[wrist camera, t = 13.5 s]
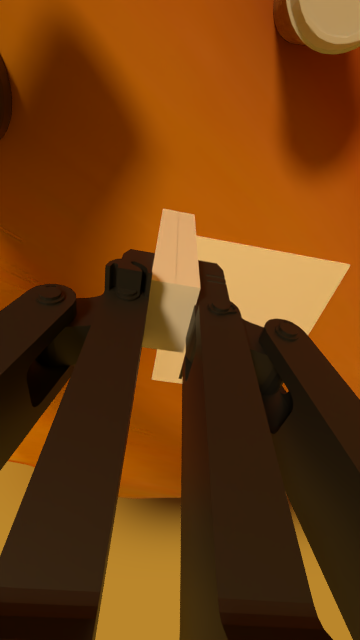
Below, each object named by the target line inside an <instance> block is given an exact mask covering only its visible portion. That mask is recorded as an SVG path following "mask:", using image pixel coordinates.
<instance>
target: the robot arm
mask: <svg viewBox="0 0 360 640" xmlns="http://www.w3.org/2000/svg"><path fill="white" fill-rule="evenodd" d="M11 111H12V96H11V88H10V83H9V79H8V75H7V72H6V69H5V66H4V63H3V61H2V58H1V56H0V139H1V138H2V137H3V135H4V134H5V132H6V130H7V128H8V125H9V122H10V118H11ZM185 344H186V353H185V357H184V360H183V364H182V368H181V371H180V375H179V378H178V379H182V477H181V584H180V585H181V586H180V589H181V590H180V640H333V639H332V638H331V637H330V636H329V635H328V633H327V632H326V631H325V630H324V628H323V626H322V625H321V622H320V621H319V619H318V616H317V613H316V610H315V607H314V604H313V600H312V596H311V592H310V588H309V584H308V580H307V576H306V573H305V568H304V564H303V560H302V556H301V552H300V548H299V544H298V540H297V536H296V532H295V528H294V524H293V520H292V516H291V512H290V509H289V504H288V500H287V496H288V498H289V500H290V502H291V505H292V507H293V509H294V511H295V513H296V515H297V518H298V520H299V522H300V524H301V526H302V529H303V531H304V533H305V535H306V537H307V540H308V542H309V544H310V546H311V548H312V550H313V553H314V555H315V557H316V559H317V561H318V564H319V566H320V568H321V570H322V573H323V575H324V577H325V579H326V581H327V584H328V586H329V588H330V590H331V592H332V594H333V597H334V599H335V601H336V603H337V605H338V608H339V610H340V612H341V614H342V616H343V619H344V621H345V623H346V625H347V627H348V630H349V631H350V634H351V636H352V638H353V640H360V400H359V398H358V397H357V396H356V395H355V393H354V392H353V391H352V390H351V388H350V387H349V386H348V385H347V383H346V382H345V381H344V380H343V379H342V377H341V376H340V375H339V374H338V372H337V371H336V370H335V369H334V367H333V366H332V365H331V364H330V362H329V361H328V360H327V359H326V357H325V356H324V355H323V354H322V353H321V351H320V350H319V349H318V348H317V346H316V345H315V344H314V343H313V341H312V340H311V339H310V338H309V336H308V335H307V334H306V333H305V332H304V331H303V330H302V329H301V328H300V327H299V326H297V325H295V324H294V323H293V322H290V321H288V320H284V319H277V318H276V319H270V320H268V321H267V322H266V323H265V325H264V327H261V326H259V325H256V324H253V323H251V322H248V321H246V320H244V319H243V318H242V317H241V313H240V310H239V309H238V307H237V306H236V305H235V304H234V303H233V302H231V301H230V299H229V294H228V290H227V285H226V281H225V276H224V272H223V270H222V269H221V267H220V266H219V265H218V264H217V263H211V262H206V261H200V260H198V252H197V240H196V228H195V216H194V215H193V214H188V213H183V212H178V211H173V210H168V209H163V212H162V218H161V223H160V229H159V235H158V240H157V246H156V251H155V253H150V252H144V251H138V250H133V249H130V250H129V251H127V252H126V253H124V254H123V257H122V259H115V260H112V261H110V262H109V263H108V264H107V265H106V268H105V291H104V294H103V295H101V296H97V297H92V298H76V294H75V292H74V291H73V290H72V289H70V288H68V287H66V286H63V285H58V284H44V285H40V286H36V287H34V288H32V289H30V290H28V291H27V292H26V293H24V294H23V295H22V296H20V297H19V298H17V299H16V300H15V301H13V302H12V303H11V304H9V305H8V306H7V307H5V308H4V309H3V310H1V311H0V470H1V469H2V467H3V466H4V465H5V463H6V462H7V461H8V459H9V458H10V457H11V455H12V454H13V453H14V451H15V450H16V449H17V447H18V446H19V445H20V443H21V442H22V441H23V439H24V438H25V437H26V435H27V434H28V433H29V431H30V430H31V429H32V427H33V426H34V425H35V423H36V422H37V421H38V419H39V418H40V417H41V415H42V414H43V413H44V411H45V410H46V409H47V407H48V406H49V405H50V403H51V402H52V401H53V399H54V398H55V397H56V395H57V394H58V393H59V391H60V390H61V389H62V387H63V386H64V385H65V383H66V382H67V381H68V379H69V378H70V380H69V383H68V385H67V388H66V390H65V393H64V395H63V398H62V400H61V403H60V405H59V408H58V410H57V413H56V416H55V418H54V421H53V423H52V426H51V428H50V431H49V433H48V436H47V438H46V441H45V444H44V446H43V449H42V451H41V454H40V456H39V459H38V461H37V464H36V466H35V469H34V472H33V474H32V477H31V479H30V482H29V484H28V487H27V490H26V492H25V495H24V497H23V499H22V502H21V505H20V507H19V510H18V512H17V515H16V518H15V520H14V523H13V525H12V527H11V530H10V533H9V535H8V538H7V540H6V543H5V545H4V548H3V551H2V553H1V555H0V640H95V636H96V630H97V624H98V617H99V611H100V604H101V599H102V592H103V586H104V579H105V574H106V568H107V561H108V555H109V549H110V542H111V536H112V530H113V524H114V517H115V511H116V505H117V499H118V493H119V487H120V480H121V474H122V468H123V462H124V456H125V449H126V443H127V437H128V431H129V424H130V418H131V412H132V406H133V400H134V393H135V387H136V381H137V375H138V368H139V362H140V356H141V349H142V347H146V348H153V349H160V350H167V351H174V352H181V353H183V351H184V347H185ZM283 383H285V385H286V387H287V388H288V390H289V392H288V393H287V392H286V391H285V390H284V388H283V386H282V384H283ZM285 491H286V492H285ZM286 494H287V496H286Z"/></svg>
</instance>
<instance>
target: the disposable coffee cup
mask: <svg viewBox="0 0 360 640" xmlns="http://www.w3.org/2000/svg"><path fill="white" fill-rule="evenodd" d="M273 15H274V22H275V25H276V28H277V30H278V32H279V34H280V35H281V36H282V37H283V38H284V39H285V40H286V41H288V42H289V43H292V44H300V45H307V46H308V47H310V48H311V49H312V50H315V51H317V52H320V53H323V54H340V53H345V52H348V51H351V50H353V49H356V48H358V47H359V46H360V0H274V4H273Z"/></svg>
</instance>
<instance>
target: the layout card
mask: <svg viewBox="0 0 360 640" xmlns="http://www.w3.org/2000/svg"><path fill="white" fill-rule="evenodd" d="M196 240H197V252H198V260H200V261H206V262H211V263H217V264H218V265H219V266H220V267H221V269H222V270H223V272H224V276H225V281H226V285H227V290H228V294H229V299H230V301H231V302H233V303H234V304H235V305H236V306H237V307H238V309H239V310H240V313H241V317H242V318H243V319H244V320H246V321H248V322H251V323H253V324H256V325H259V326H261V327H264V325H265V323H266V322H267V321H268V320H270V319H276V318H277V319H284V320H288V321H290V322H293V323H294V324H295V325H297V326H299V327H300V328H301V329H302V330H303V331H304V332H305V333H306V334H307V335H309V333H310V331H311V330H312V328H313V326H314V325H315V323H316V321H317V320H318V318H319V316H320V315H321V313H322V312H323V310H324V308H325V307H326V305H327V303H328V302H329V300H330V298H331V297H332V295H333V293H334V292H335V290H336V288H337V287H338V285H339V284H340V282H341V280H342V279H343V277H344V275H345V274H346V272H347V270H348V269H349V267H350V264H346V263H340V262H335V261H330V260H324V259H319V258H313V257H308V256H303V255H297V254H292V253H287V252H281V251H276V250H270V249H265V248H260V247H254V246H249V245H244V244H238V243H233V242H228V241H222V240H217V239H211V238H206V237H201V236H196ZM185 353H186V344H185V347H184V351H183V353H181V352H174V351H167V350H160V349H157V354H156V359H155V364H154V369H153V375H152V380H158V381H166V382H174V383H181V384H182V379H178V378H179V375H180V371H181V368H182V364H183V360H184V357H185Z"/></svg>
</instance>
